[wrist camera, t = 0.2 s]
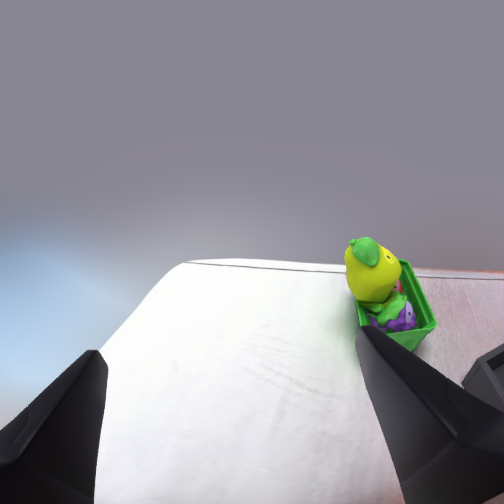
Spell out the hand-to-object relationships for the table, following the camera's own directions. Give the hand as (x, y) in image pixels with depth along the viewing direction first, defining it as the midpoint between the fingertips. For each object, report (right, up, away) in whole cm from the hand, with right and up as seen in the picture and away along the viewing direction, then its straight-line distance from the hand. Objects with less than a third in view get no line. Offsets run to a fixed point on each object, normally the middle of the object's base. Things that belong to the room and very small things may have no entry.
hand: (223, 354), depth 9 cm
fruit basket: (+15, -5, +20) cm, 25 cm away
